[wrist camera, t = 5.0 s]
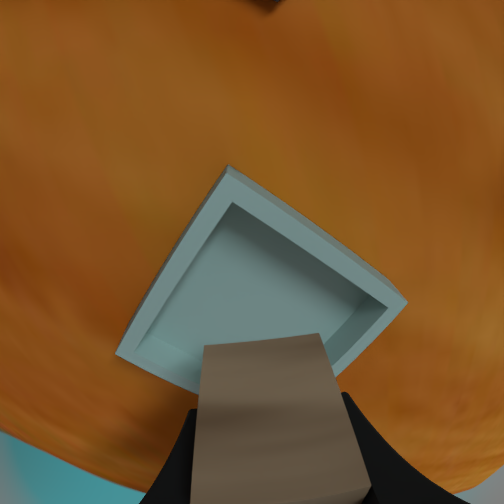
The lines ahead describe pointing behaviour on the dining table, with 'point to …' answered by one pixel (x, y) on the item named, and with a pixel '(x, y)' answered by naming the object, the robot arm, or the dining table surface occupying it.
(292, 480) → the block
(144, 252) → the dining table surface
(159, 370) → the tray
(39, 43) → the dining table surface
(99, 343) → the dining table surface
